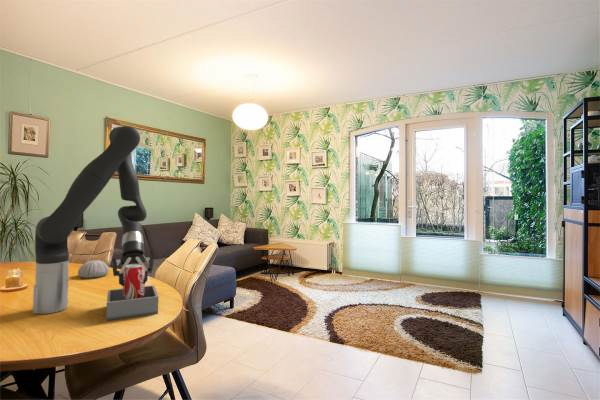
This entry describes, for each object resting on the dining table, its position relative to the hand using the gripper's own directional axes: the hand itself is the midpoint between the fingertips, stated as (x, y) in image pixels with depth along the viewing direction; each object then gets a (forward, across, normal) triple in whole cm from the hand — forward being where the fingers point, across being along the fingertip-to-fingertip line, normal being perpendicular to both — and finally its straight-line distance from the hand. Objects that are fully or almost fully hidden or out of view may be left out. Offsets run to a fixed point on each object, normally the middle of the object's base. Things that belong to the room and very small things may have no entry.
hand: (133, 283), depth 112 cm
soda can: (+3, 0, +6) cm, 6 cm away
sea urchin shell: (-36, -16, +51) cm, 64 cm away
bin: (+6, 0, +8) cm, 10 cm away
